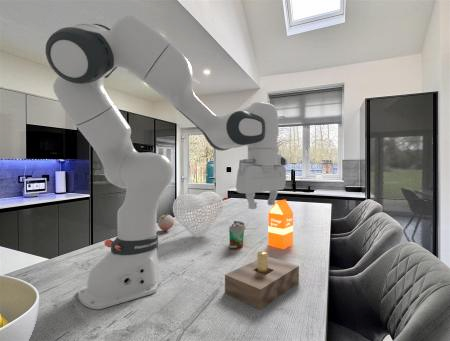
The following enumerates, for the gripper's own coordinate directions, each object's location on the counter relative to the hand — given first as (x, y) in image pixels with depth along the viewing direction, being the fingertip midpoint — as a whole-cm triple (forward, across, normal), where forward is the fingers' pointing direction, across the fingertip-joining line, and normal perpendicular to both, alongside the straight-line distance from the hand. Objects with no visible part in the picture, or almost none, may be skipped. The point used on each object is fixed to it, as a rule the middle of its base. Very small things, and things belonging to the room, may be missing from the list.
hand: (262, 206), depth 73 cm
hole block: (+23, 0, -1) cm, 23 cm away
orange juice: (+23, +38, +16) cm, 47 cm away
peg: (+23, -1, -1) cm, 23 cm away
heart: (+23, +19, +51) cm, 60 cm away
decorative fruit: (+24, +14, +72) cm, 77 cm away
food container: (+24, +22, +28) cm, 43 cm away
